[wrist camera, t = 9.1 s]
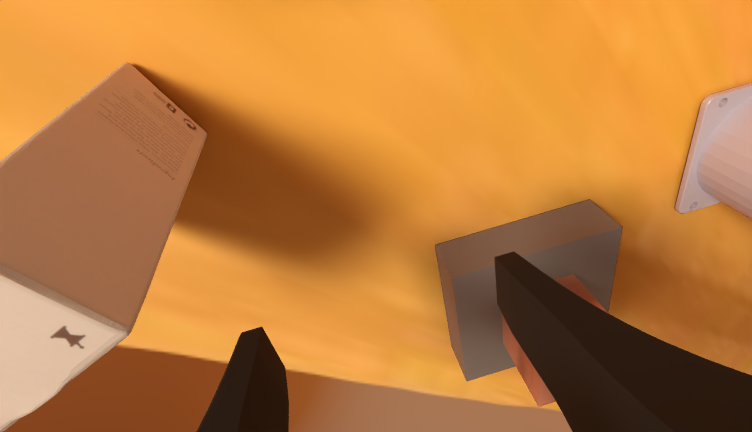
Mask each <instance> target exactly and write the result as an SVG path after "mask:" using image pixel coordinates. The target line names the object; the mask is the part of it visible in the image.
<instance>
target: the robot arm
mask: <svg viewBox="0 0 752 432" xmlns="http://www.w3.org/2000/svg"><path fill="white" fill-rule="evenodd" d="M721 202H723V203H725V204H726V205H728V206H730V207H731V208H733V209H735V210H737V211H738V212H740V213H742V214H743V215H745V216H747V217H748V218H750V219H752V83H749V84H746V85H742V86H739V87H735V88H732V89H728V90H725V91H722V92H718V93H715V94H711V95H709V96H707V97H706V98H705V99H704V100H703V102H702V104H701V107H700V111H699V115H698V119H697V123H696V127H695V131H694V135H693V139H692V142H691V146H690V150H689V154H688V158H687V162H686V166H685V170H684V174H683V178H682V182H681V186H680V190H679V194H678V198H677V202H676V206H675V210H676V211H677V212H679V213H681V214H684V213H687V212H691V211H694V210H697V209H701V208H704V207H707V206H711V205H714V204H717V203H721ZM494 258H495V275H496V292H497V304H498V306H499V308H500V310H501V312H502V314H503V316H504V318H505V320H506V322H507V324H508V326H509V328H510V330H511V332H512V334H513V336H514V337H515V339H516V340H517V342H518V343H519V345H520V346H521V348H522V350H523V351H524V353H525V354H526V356H527V357H528V359H529V360H530V362H531V363H532V365H533V366H534V368H535V370H536V371H537V373H538V374H539V376H540V377H541V379H542V380H543V382H544V383H545V385H546V386H547V388H548V389H549V391H550V393H551V394H552V396H553V397H554V399H555V401H556V402H557V404H558V406H559V407H560V409H561V411H562V412H563V414H564V416H565V418H566V420H567V422H568V424H569V426H570V428H571V429H572V431H573V432H752V375H749V374H746V373H743V372H740V371H737V370H735V369H732V368H729V367H726V366H723V365H721V364H718V363H715V362H712V361H710V360H707V359H705V358H702V357H700V356H697V355H695V354H693V353H690V352H688V351H685V350H683V349H681V348H678V347H676V346H673V345H671V344H669V343H666V342H664V341H662V340H659V339H657V338H655V337H653V336H651V335H649V334H647V333H645V332H643V331H641V330H639V329H637V328H635V327H633V326H631V325H629V324H627V323H625V322H623V321H621V320H619V319H617V318H616V317H614V316H612V315H610V314H608V313H607V312H605V311H603V310H601V309H600V308H598V307H596V306H595V305H593V304H591V303H590V302H588V301H586V300H585V299H583V298H581V297H580V296H578V295H577V294H575V293H574V292H572V291H571V290H569V289H567V288H566V287H564V286H563V285H561V284H560V283H558V282H557V281H555V280H554V279H552V278H551V277H550V276H548V275H547V274H545V273H544V272H542V271H541V270H540V269H538V268H537V267H535V266H534V265H533V264H531V263H530V262H528V261H527V260H526V259H524V258H523V257H521V256H520V255H519V254H517V253H516V252H514V251H513V252H510V253H506V254H503V255H500V256H496V257H494ZM288 415H289V401H288V389H287V380H286V371H285V367H284V365H283V363H282V361H281V360H280V358H279V356H278V354H277V352H276V351H275V349H274V347H273V345H272V344H271V342H270V340H269V338H268V336H267V335H266V333H265V331H264V329H263V328H262V327H259V328H256V329H252V330H249V331H246V332H242V333H241V335H240V337H239V339H238V341H237V344H236V346H235V349H234V351H233V354H232V356H231V359H230V361H229V363H228V366H227V368H226V371H225V373H224V375H223V378H222V380H221V382H220V384H219V386H218V389H217V391H216V393H215V395H214V397H213V400H212V402H211V404H210V406H209V408H208V410H207V412H206V414H205V416H204V418H203V420H202V422H201V424H200V426H199V428H198V430H197V432H288V422H289V416H288Z"/></svg>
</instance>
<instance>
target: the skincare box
mask: <svg viewBox="0 0 752 432" xmlns="http://www.w3.org/2000/svg"><path fill="white" fill-rule="evenodd" d="M206 138H207V133H206V132H205V131H204V130H203V129H202V128H201V127H200V126H199V125H198V124H197V123H196V122H194V121H193V120H192V119H191V118H190V117H189V116H188V115H187V114H186V113H184V112H183V111H182V110H181V109H180V108H179V107H178V106H176V105H175V104H174V103H173V102H172V101H171V100H170V99H169V98H168V97H167V96H165V95H164V94H163V93H162V92H161V91H160V90H159V89H158V88H157V87H156V86H154V85H153V84H152V83H151V82H150V81H149V80H148V79H147V78H146V77H144V76H143V75H142V74H141V73H140V72H139V71H138V70H137V69H136V68H135V67H134V66H132V65H131V64H130V63H124V64H122V65H121V66H120V67H119V68H117V69H116V70H115V71H114V72H112V73H111V74H110V75H109V76H107V77H106V78H105V79H104V80H102V81H101V82H100V83H99V84H97V85H96V86H95V87H94V88H92V89H91V90H90V91H89V92H87V93H86V94H85V95H83V96H82V97H81V98H80V99H78V100H77V101H76V102H74V103H73V104H72V105H71V106H69V107H68V108H67V109H65V110H64V111H63V112H62V113H61V114H59V115H58V116H57V117H56V118H54V119H53V120H52V121H51V122H49V123H48V124H47V125H45V126H44V127H43V128H42V129H41V130H39V131H38V132H37V133H36V134H34V135H33V136H32V137H31V138H29V139H28V140H27V141H25V142H24V143H23V144H22V145H20V146H19V147H18V148H17V149H15V150H14V151H13V152H11V153H10V154H9V155H8V156H6V157H5V158H4V159H3V160H1V161H0V432H3V431H4V430H6V429H7V428H8V427H10V426H11V425H12V424H14V423H15V422H16V421H17V420H19V419H20V418H21V417H23V416H25V415H27V414H29V413H31V412H32V411H34V410H35V409H37V408H38V407H40V406H41V405H43V404H44V403H46V402H47V401H48V400H50V399H51V398H52V397H54V396H55V395H56V394H57V393H58V392H59V391H60V390H61V389H62V388H63V387H64V386H65V385H66V384H67V383H68V382H70V381H71V380H72V379H73V378H75V377H76V376H77V375H79V374H80V373H81V372H82V371H84V370H85V369H86V368H87V367H89V366H90V365H91V364H92V363H93V362H95V361H96V360H97V359H99V358H100V357H101V356H103V355H104V354H105V353H106V352H108V351H109V350H110V349H112V348H113V347H114V346H116V345H117V344H118V343H119V342H121V341H122V340H123V339H125V338H126V337H127V336H128V335H129V334H130V333H131V331H132V329H133V326H134V324H135V322H136V319H137V316H138V314H139V312H140V309H141V307H142V304H143V302H144V299H145V297H146V294H147V292H148V289H149V287H150V284H151V281H152V279H153V276H154V273H155V270H156V268H157V265H158V262H159V260H160V257H161V254H162V252H163V249H164V247H165V244H166V241H167V239H168V236H169V234H170V231H171V228H172V226H173V224H174V221H175V218H176V215H177V213H178V210H179V207H180V205H181V202H182V200H183V197H184V194H185V192H186V189H187V187H188V184H189V182H190V179H191V177H192V174H193V172H194V169H195V166H196V164H197V161H198V159H199V156H200V153H201V151H202V148H203V146H204V143H205V140H206Z"/></svg>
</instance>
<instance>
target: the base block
mask: <svg viewBox="0 0 752 432" xmlns="http://www.w3.org/2000/svg"><path fill="white" fill-rule="evenodd" d="M622 228H623V227H622V226H621V225H620V224H619V223H618V222H616V221H615V220H614V219H613V218H612V217H610V216H609V215H608V214H607V213H606V212H604V211H603V210H602V209H601V208H600V207H598V206H597V205H596V204H595V203H594V202H592V201H591V200H590V199H589V200H586V201H582V202H579V203H575V204H572V205H569V206H565V207H562V208H559V209H555V210H552V211H548V212H545V213H542V214H538V215H535V216H531V217H528V218H525V219H521V220H518V221H515V222H511V223H508V224H504V225H501V226H498V227H494V228H491V229H488V230H484V231H481V232H477V233H474V234H471V235H467V236H464V237H461V238H457V239H454V240H450V241H447V242H444V243H440V244H437V245H435V248H436V255H437V261H438V267H439V273H440V279H441V285H442V291H443V297H444V303H445V309H446V315H447V321H448V327H449V333H450V339H451V345H452V348H453V351H454V353H455V355H456V358H457V360H458V362H459V365H460V367H461V369H462V372H463V374H464V376H465V379H466V381H470V380H473V379H476V378H479V377H483V376H486V375H489V374H492V373H495V372H499V371H502V370H505V369H508V368H511V367H515V366H516V365H515V364H514V362H513V360H512V358H511V356H510V355H509V353H508V351H507V349H506V347H505V346H504V344H503V329H502V312H501V310H500V308H499V306H498V304H497V292H496V275H495V258H494V257H496V256H500V255H503V254H506V253H510V252H513V251H514V252H516V253H517V254H519V255H520V256H521V257H523V258H524V259H526V260H527V261H528V262H530V263H531V264H533V265H534V266H535V267H537V268H538V269H540V270H541V271H542V272H544V273H545V274H547V275H548V276H550V277H551V278H552V279H558V278H561V277H564V276H568V275H571V274H574V275H575V276H576V277H577V278H578V280H579V281H580V282H581V283H582V284H583V285H584V286H585V287H586V289H587V290H588V291H589V292H590V293H591V294H592V295H593V297H594V298H595V299H596V300H597V301H598V302H599V303H600V304H601V306H602V307H603V308H604V309H605V310H606V311H607V312H608V310H609V304H610V298H611V293H612V287H613V281H614V275H615V269H616V263H617V257H618V251H619V245H620V239H621V234H622Z"/></svg>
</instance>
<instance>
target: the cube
mask: <svg viewBox="0 0 752 432" xmlns="http://www.w3.org/2000/svg"><path fill="white" fill-rule="evenodd" d="M554 280H555V281H557V282H558V283H560V284H561V285H563V286H564V287H566V288H567V289H569V290H571V291H572V292H574V293H575V294H577V295H578V296H580V297H581V298H583V299H585V300H586V301H588V302H590V303H591V304H593V305H595V306H596V307H598V308H600V309H601V310H603V311H605V312H607V311H606V310H605V309H604V308H603V307H602V306H601V304H600V303H599V302H598V301H597V300H596V299H595V298H594V297H593V295H592V294H591V293H590V292H589V291H588V290H587V289H586V287H585V286H584V285H583V284H582V283H581V282H580V281H579V280H578V278H577V277H576V276H575V275H574V274H571V275H568V276H564V277H561V278H558V279H554ZM607 313H608V312H607ZM608 314H609V313H608ZM502 329H503V344H504V346H505V347H506V349H507V351H508V353H509V355H510V356H511V358H512V360H513V362H514V364H515V365H516V367H517V369H518V371H519V373H520V374H521V376H522V378H523V380H524V381H525V383H526V385H527V387H528V389H529V390H530V392H531V394H532V396H533V398H534V399H535V401H536V403H537V405H538V406H543V405H546V404H549V403H552V402H555V399H554V397H553V396H552V394H551V393H550V391H549V389H548V388H547V386H546V385H545V383H544V382H543V380H542V379H541V377H540V376H539V374H538V373H537V371H536V370H535V368H534V366H533V365H532V363H531V362H530V360H529V359H528V357H527V356H526V354H525V353H524V351H523V350H522V348H521V346H520V345H519V343H518V342H517V340H516V339H515V337H514V336H513V334H512V332H511V330H510V328H509V326H508V324H507V322H506V320H505V318H504V316H503V314H502Z"/></svg>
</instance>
